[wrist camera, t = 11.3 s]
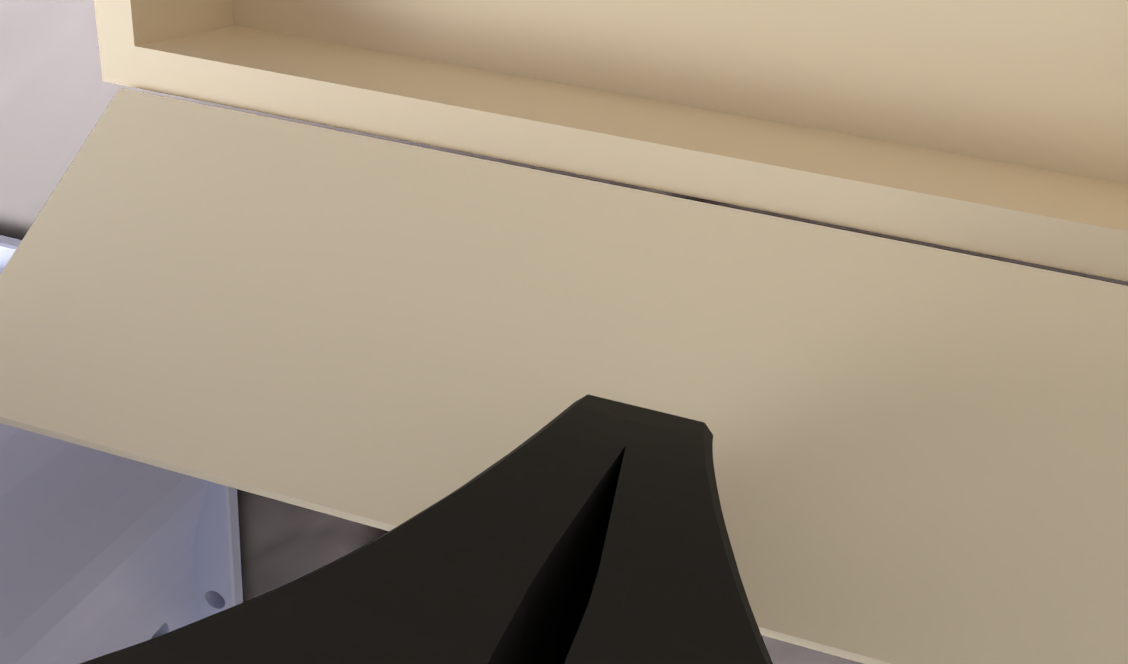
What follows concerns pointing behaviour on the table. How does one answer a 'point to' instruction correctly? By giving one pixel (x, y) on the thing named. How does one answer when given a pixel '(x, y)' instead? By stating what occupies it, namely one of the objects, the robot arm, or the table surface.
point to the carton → (708, 99)
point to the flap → (589, 367)
